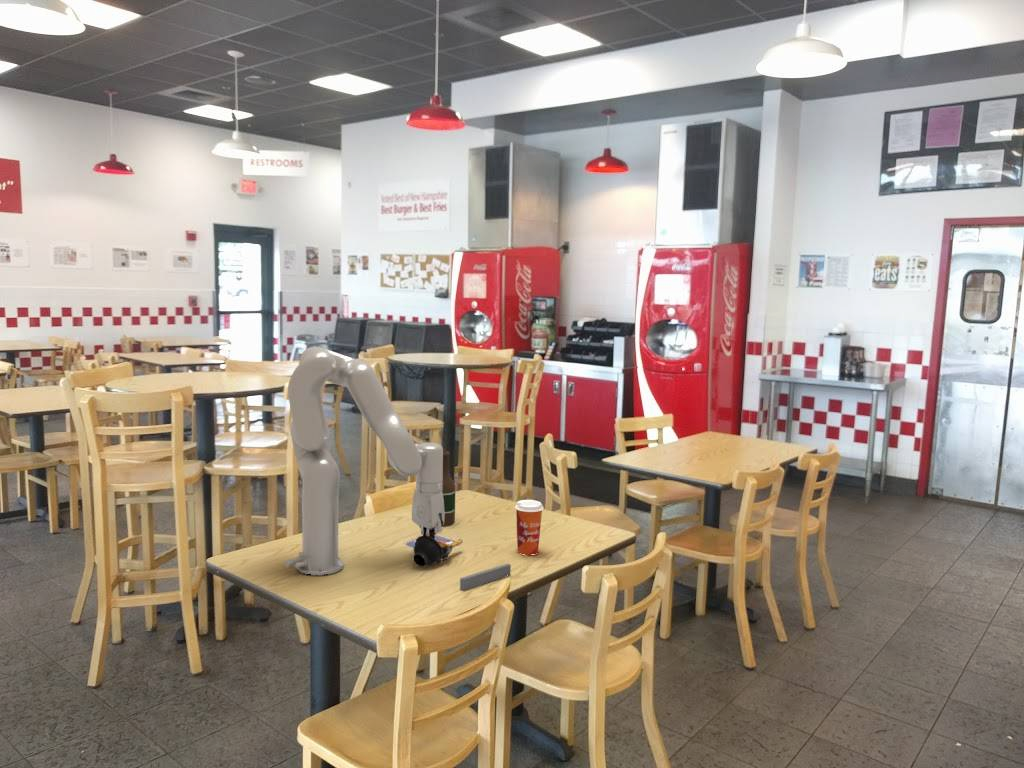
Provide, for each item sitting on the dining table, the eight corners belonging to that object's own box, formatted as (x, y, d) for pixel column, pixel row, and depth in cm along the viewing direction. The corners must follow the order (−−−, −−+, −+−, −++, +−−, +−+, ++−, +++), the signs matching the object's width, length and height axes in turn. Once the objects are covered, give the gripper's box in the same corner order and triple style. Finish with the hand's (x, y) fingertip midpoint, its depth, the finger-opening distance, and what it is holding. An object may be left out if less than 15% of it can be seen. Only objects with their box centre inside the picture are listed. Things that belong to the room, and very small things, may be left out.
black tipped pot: (399, 550, 210) (430, 514, 225) (418, 583, 213) (448, 544, 227) (423, 545, 205) (454, 508, 220) (443, 578, 208) (472, 539, 222)
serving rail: (463, 590, 196) (463, 579, 195) (460, 589, 197) (460, 578, 196) (510, 575, 207) (510, 564, 207) (507, 573, 208) (507, 563, 207)
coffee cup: (518, 558, 220) (519, 507, 218) (510, 548, 228) (512, 499, 226) (545, 556, 222) (547, 506, 220) (537, 546, 230) (539, 498, 228)
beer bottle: (453, 527, 246) (454, 454, 243) (429, 526, 246) (430, 453, 243) (455, 520, 254) (457, 449, 250) (432, 519, 254) (433, 448, 251)
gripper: (403, 483, 220) (402, 544, 223) (434, 494, 210) (434, 558, 212) (423, 479, 225) (423, 538, 228) (456, 489, 215) (454, 552, 217)
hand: (428, 548), depth 220 cm, fingers closed
